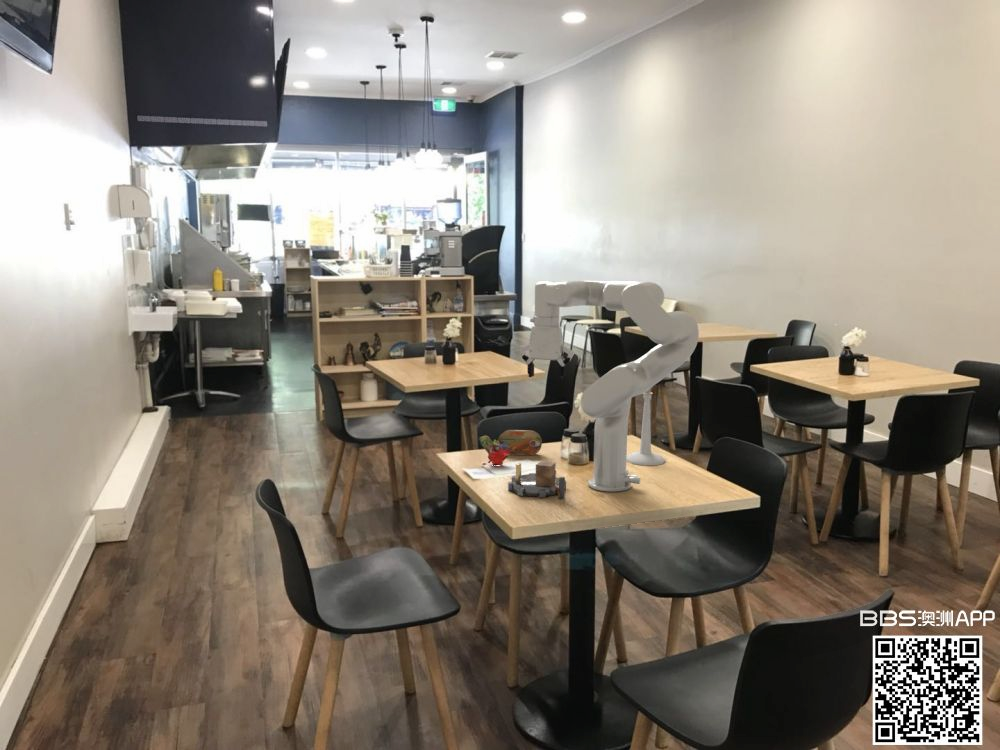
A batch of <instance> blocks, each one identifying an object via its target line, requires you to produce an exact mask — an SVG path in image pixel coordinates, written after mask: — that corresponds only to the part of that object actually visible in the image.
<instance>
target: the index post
mask: <svg viewBox="0 0 1000 750" xmlns="http://www.w3.org/2000/svg"><path fill="white" fill-rule="evenodd" d="M558 478H559V494H558V499H559V500H564V499H565V496H566V495H565V493H566V492H565V491H566V490H565V489H566V488H565V480H566V478H565V476H559V477H558Z"/></svg>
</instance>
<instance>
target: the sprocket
mask: <svg viewBox="0 0 1000 750" xmlns="http://www.w3.org/2000/svg"><path fill="white" fill-rule="evenodd" d="M566 488H567V480H566V479H565V489H566ZM507 489H508V491H513V492H514V493H516V494H517V495H518V496H520V497H523V496H529V497H538V498H547V497H550V496H553V495H559V477H558V476H556V474H555V483H554V484H553V485H552V486H551V487H547V486H539V485H536V472H532V473H528V474H524V475H522V463H520V462H517V463H515V475H514V476H512V477H511V481H507Z"/></svg>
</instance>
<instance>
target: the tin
mask: <svg viewBox="0 0 1000 750" xmlns="http://www.w3.org/2000/svg"><path fill="white" fill-rule="evenodd" d="M497 441H499V443H500V444H501V445H502V448H503V451H505V450H507V449H508V448H509V450H508V451H510V453H508V454H525V455H524V456H534V455H536V454H538V453H539V452H540V451H541V449H542V445H543V440H542V437H541V435H540V434H539V433H538V432H536V431H535V430H527V429H526V430H525V429H524V430H523V429H520V430H519V429H507V430H505V431H504V432H502V433H501V434H500V435H499V436H498V439H497ZM501 451H502V450H501Z"/></svg>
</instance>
